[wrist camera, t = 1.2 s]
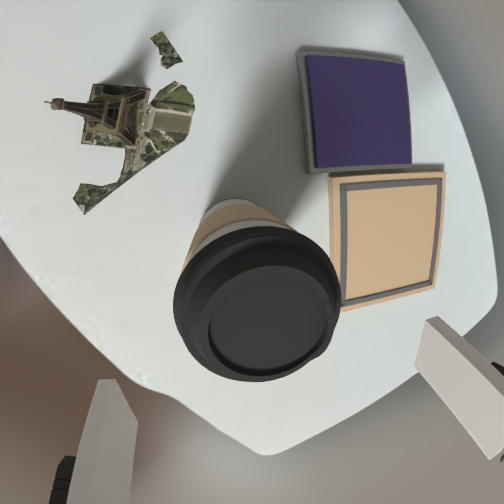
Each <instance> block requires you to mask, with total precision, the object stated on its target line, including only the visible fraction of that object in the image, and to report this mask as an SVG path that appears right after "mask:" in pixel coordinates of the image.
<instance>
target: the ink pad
mask: <svg viewBox="0 0 504 504" xmlns="http://www.w3.org/2000/svg"><path fill="white" fill-rule="evenodd" d="M296 61H297V69H298V78H299V87H300V96H301V106H302V117H303V128H304V139H305V152H306V166H307V173H309V174H316V173H329V172H342V171H358V170H376V169H400V168H412V142H411V122H410V108H409V96H408V86H407V78H406V70H405V62H404V61H400V60H394V59H388V58H381V57H374V56H366V55H357V54H347V53H334V52H317V51H298V52H297V53H296Z"/></svg>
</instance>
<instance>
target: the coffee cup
mask: <svg viewBox="0 0 504 504" xmlns="http://www.w3.org/2000/svg"><path fill="white" fill-rule="evenodd" d="M340 309H341V288H340V283H339V279H338V276H337V274H336V270H335V268H334V266H333V264H332V262H331V260H330V258H329V257H328V255H327V254H326V253H325V252H324V251H323V249H322V248H321V247H320V246H319V245H317V244H316V243H315V242H314V241H312V240H311V239H309V238H308V237H306V236H304V235H302V234H300V233H298V232H297V231H296V230H294V229H293V228H292V227H290V226H289V225H287V224H286V223H284V222H283V221H282V220H280V219H279V218H277V217H276V216H274V215H273V214H271V213H270V212H269V211H267V210H265V209H263V208H261V207H259V206H257V205H256V204H254V203H252V202H250V201H247V200H244V199H228V200H224V201H222V202H219V203H217V204H216V205H214V206H213V207H211V208H210V209H209V210H208V211H207V212H206V214H205V215H204V216H203V218H202V220H201V222H200V224H199V227H198V229H197V231H196V233H195V235H194V238H193V240H192V243H191V246H190V249H189V251H188V254H187V257H186V260H185V263H184V265H183V268H182V272H181V275H180V277H179V280H178V282H177V285H176V288H175V292H174V299H173V313H174V319H175V323H176V326H177V329H178V331H179V333H180V335H181V337H182V339H183V341H184V343H185V345H186V347H187V349H188V350H189V352H190V353H191V354H192V356H193V357H194V358H195V359H196V360H197V361H198V362H199V363H200V364H201V365H202V366H204V367H205V368H207V369H208V370H210V371H211V372H213V373H215V374H217V375H220V376H222V377H225V378H228V379H232V380H237V381H246V382H265V381H271V380H275V379H279V378H282V377H285V376H287V375H289V374H291V373H293V372H295V371H297V370H299V369H300V368H302V367H303V366H304V365H306V364H307V363H308V362H309V361H311V360H313V359H315V358H317V357H318V356H320V355H321V354H322V353H323V352H324V351H325V350H326V349H327V347H328V345H329V343H330V341H331V338H332V335H333V332H334V329H335V326H336V324H337V321H338V318H339V314H340Z"/></svg>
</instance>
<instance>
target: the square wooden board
mask: <svg viewBox="0 0 504 504" xmlns="http://www.w3.org/2000/svg"><path fill="white" fill-rule="evenodd" d="M445 182H446V172H443V171H411V172H387V173H368V174H353V175H339V176H328V189H329V219H330V260H331V262H332V264H333V266H334V268H335V270H336V274H337V276H338V279H339V283H340V288H341V309H340V312H343V311H348V310H352V309H356V308H361V307H365V306H369V305H373V304H377V303H381V302H385V301H389V300H393V299H397V298H400V297H404V296H408V295H412V294H415V293H419V292H422V291H426V290H429V289H433V288H435V282H436V276H437V270H438V263H439V256H440V248H441V239H442V229H443V218H444V204H445Z"/></svg>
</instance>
